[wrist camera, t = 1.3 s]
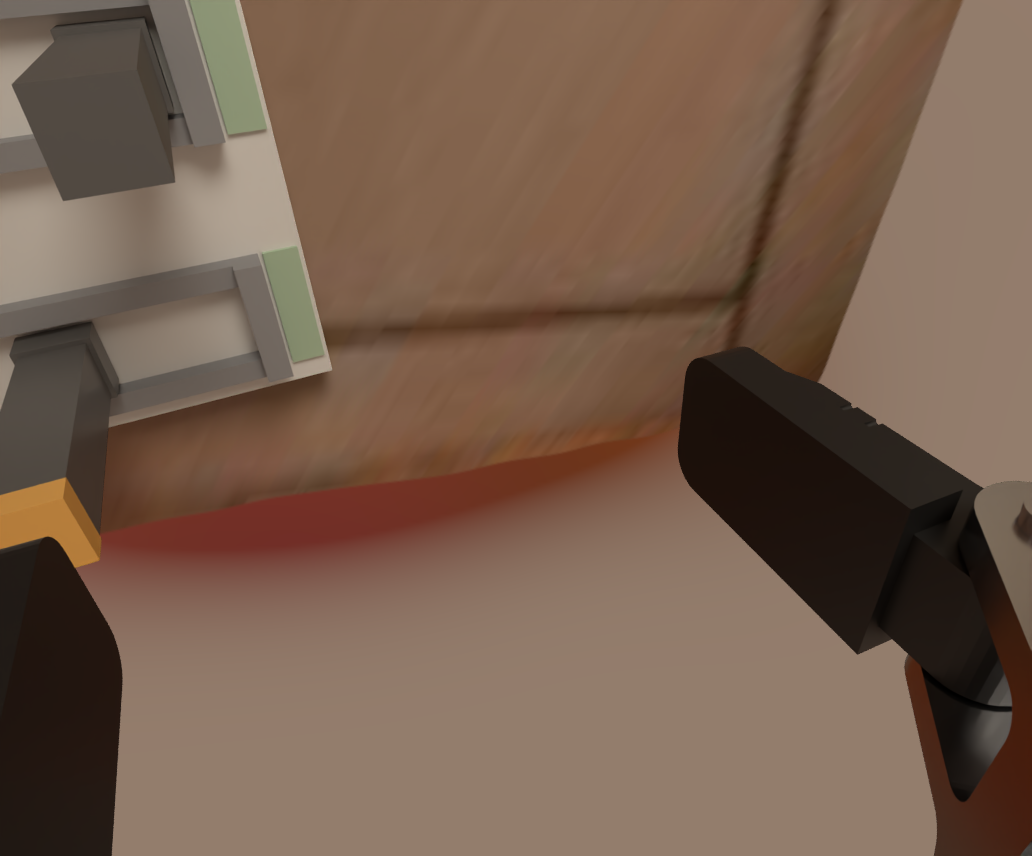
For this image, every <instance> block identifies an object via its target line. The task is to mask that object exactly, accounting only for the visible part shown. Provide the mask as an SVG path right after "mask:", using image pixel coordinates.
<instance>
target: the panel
mask: <svg viewBox="0 0 1032 856" xmlns="http://www.w3.org/2000/svg"><path fill="white" fill-rule="evenodd" d="M91 321H92V322H93V325H94V327H95V329H96V331H97V333H98V335H99V337H100V340H101V342H102V344H103V346H104V348H105V350H106V352H107V355H108V357H109V359H110V361H111V363H112V365H113V367H114V370H115V372H116V374H117V376H118V378H119V387H118V397H116V398H112V399H111V403H110V415H109V427H113V426H117V425H121V424H125V423H129V422H132V421H136V420H140V419H144V418H148V417H152V416H156V415H160V414H164V413H167V412H171V411H175V410H179V409H183V408H187V407H191V406H195V405H199V404H202V403H206V402H210V401H214V400H218V399H222V398H226V397H230V396H234V395H237V394H241V393H245V392H249V391H253V390H257V389H261V388H265V387H269V386H272V385H276V384H280V383H284V382H288V381H292V380H296V379H300V378H304V377H307V376H311V375H315V374H319V373H323V372H327V371H331V370H332V367H331V363H330V359H329V355H328V351H327V347H326V343H325V339H324V335H323V331H322V327H321V323H320V319H319V315H318V311H317V307H316V303H315V299H314V295H313V291H312V287H311V283H310V279H309V275H308V271H307V267H306V263H305V259H304V255H303V251H302V247H301V243H300V239H299V235H298V231H297V227H296V223H295V219H294V215H293V211H292V207H291V203H290V199H289V195H288V191H287V187H286V183H285V179H284V175H283V171H282V167H281V163H280V159H279V155H278V151H277V147H276V143H275V139H274V135H273V131H272V127H271V123H270V119H269V115H268V111H267V107H266V103H265V99H264V95H263V91H262V87H261V83H260V79H259V75H258V71H257V67H256V63H255V59H254V55H253V51H252V47H251V43H250V39H249V35H248V31H247V27H246V24H245V20H244V16H243V12H242V8H241V4H240V0H0V410H1V407H2V404H3V401H4V397H5V394H6V391H7V388H8V385H9V382H10V379H11V376H12V372H13V369H14V366H15V365H14V363H13V362H12V360H11V358H10V356H9V354H10V351H11V348H12V345H13V342H14V339H15V338H17V337H21V336H26V335H31V334H35V333H40V332H44V331H49V330H54V329H58V328H63V327H68V326H72V325H77V324H82V323H86V322H91ZM109 427H108V428H109Z"/></svg>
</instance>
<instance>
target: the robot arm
mask: <svg viewBox="0 0 1032 856" xmlns="http://www.w3.org/2000/svg"><path fill="white" fill-rule="evenodd" d="M678 458H679V463H680V466H681V469H682V472H683V474H684V477H685V479H686V480H687V482H688V484H689V485H690V486H691V488H692V489H693V490H694V491H695V492H696V493H697V494H698V495H699V496H700V497H701V498H702V499H703V500H704V501H705V502H706V503H707V504H708V505H709V506H710V507H711V508H712V509H713V510H714V511H715V512H716V513H717V514H718V515H719V516H720V517H721V518H722V519H723V520H724V521H725V522H726V523H727V524H728V525H729V526H730V527H731V528H732V529H733V530H734V531H735V532H736V533H737V534H738V535H739V536H740V537H741V538H742V539H743V540H744V541H745V542H746V543H747V544H748V545H749V546H750V547H751V548H752V549H753V550H754V551H755V552H756V553H757V554H758V555H759V556H760V557H761V558H762V559H763V560H764V561H765V562H766V563H767V564H768V565H769V566H770V567H771V568H772V569H773V570H774V571H775V572H776V573H777V574H778V575H779V576H780V577H781V578H782V579H783V580H784V581H785V582H786V583H787V584H788V585H789V586H790V587H791V588H792V589H793V590H794V591H795V592H796V593H797V594H798V595H799V596H800V597H801V598H802V599H803V600H804V601H805V602H806V603H807V604H808V605H809V606H810V607H811V608H812V609H813V610H814V611H815V612H816V613H817V614H818V615H819V616H820V617H821V618H822V619H823V620H824V621H825V622H826V623H827V624H828V626H829V627H830V628H832V629H833V631H834V632H835V633H836V634H837V635H838V636H840V638H842V640H843V641H844V642H846V644H847V645H848V646H849V647H850V648H851V649H852V650H853V651H854V652H855V653H856V654H860V653H862V652H864V651H867V650H869V649H871V648H873V647H875V646H878V645H880V644H882V643H884V642H887V641H889V640H891V639H893V640H894V641H895V642H896V643H897V644H898V645H899V646H900V647H901V648H902V649H903V650H904V651H906V652H907V653H908V655H907V657H906V660H905V666H904V668H905V676H906V681H907V685H908V689H909V694H910V698H911V703H912V707H913V712H914V716H915V721H916V725H917V730H918V734H919V739H920V743H921V748H922V752H923V757H924V761H925V765H926V770H927V775H928V779H929V784H930V788H931V793H932V797H933V801H934V806H935V811H936V820H937V840H936V847H935V853H934V856H1032V482H1021V481H1010V482H1001V483H996V484H993V485H990V486H988V487H986V488H982V487H980V486H979V485H977V484H975V483H974V482H972V481H971V480H969V479H968V478H966V477H964V476H963V475H961V474H960V473H958V472H957V471H955V470H953V469H952V468H950V467H949V466H947V465H946V464H944V463H942V462H941V461H940V460H938V459H937V458H935V457H933V456H932V455H930V454H929V453H927V452H926V451H924V450H923V449H921V448H920V447H918V446H916V445H915V444H913V443H912V442H910V441H909V440H907V439H906V438H904V437H903V436H901V435H899V434H898V433H896V432H895V431H893V430H891V429H890V428H888V427H887V426H885V425H884V424H880V425H878V424H877V423H876V419H875V418H873V417H872V416H870V415H868V414H867V413H865V412H864V411H862V410H861V409H859V408H858V407H857V408H852V406H851V403H850V402H848V401H847V400H845V399H844V398H842V397H840V396H839V395H837V394H836V393H834V392H833V391H831V390H830V389H828V388H827V387H825V386H824V385H822V384H820V383H817V382H814V381H811V380H809V379H806V378H803V377H800V376H797V375H795V374H792V373H789V372H786V371H784V370H783V369H781V368H780V367H778V366H777V365H775V364H774V363H772V362H770V361H769V360H767V359H766V358H764V357H763V356H761V355H760V354H758V353H757V352H755V351H754V350H752V349H750V348H748V347H737V348H734V349H730V350H726V351H722V352H719V353H715V354H711V355H708V356H704V357H700V358H697V359H694V360H693V361H692V362H691V363H690V364H689V366H688V368H687V371H686V375H685V384H684V393H683V403H682V412H681V422H680V431H679V442H678ZM121 697H122V667H121V660H120V655H119V651H118V647H117V644H116V641H115V638H114V635H113V633H112V631H111V629H110V627H109V625H108V623H107V622H106V620H105V618H104V616H103V615H102V613H101V611H100V610H99V608H98V606H97V605H96V603H95V601H94V599H93V598H92V596H91V595H90V593H89V591H88V589H87V588H86V586H85V584H84V582H83V581H82V579H81V577H80V576H79V574H78V572H77V571H76V569H75V567H74V565H73V564H72V562H71V560H70V559H69V557H68V555H67V554H66V552H65V550H64V549H63V547H62V546H61V545H60V543H59V542H58V541H57V540H55V539H54V538H52V537H49V536H47V537H43V538H40V539H36V540H32V541H29V542H25V543H21V544H18V545H14V546H10V547H7V548H3V549H0V856H112V841H113V825H114V809H115V793H116V776H117V761H118V745H119V729H120V712H121Z"/></svg>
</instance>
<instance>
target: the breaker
mask: <svg viewBox="0 0 1032 856" xmlns="http://www.w3.org/2000/svg"><path fill="white" fill-rule="evenodd" d="M9 356H10V358H11V360H12V362H13V363H14V365H15V366H14V369H13V372H12V376H11V379H10V382H9V385H8V388H7V391H6V394H5V397H4V401H3V404H2V407H1V410H0V549H3V548H7V547H10V546H14V545H18V544H21V543H25V542H29V541H32V540H36V539H40V538H43V537H47V536H49V537H52V538H54V539H55V540H57V541H58V542H59V543H60V545H61V546H62V547H63V549H64V550H65V552H66V554H67V555H68V557H69V559H70V560H71V562H72V564H73V565H74V567H75V568H76V567H80V566H83V565H86V564H90V563H93V562H96V561H99V560H100V552H101V537H100V524H101V512H102V499H103V487H104V475H105V463H106V451H107V439H108V427H109V415H110V403H111V399H112V398H116V397H118V387H119V378H118V376H117V374H116V372H115V370H114V367H113V365H112V363H111V361H110V359H109V357H108V355H107V352H106V350H105V348H104V346H103V344H102V342H101V340H100V337H99V335H98V333H97V331H96V329H95V327H94V325H93V322H92V321H91V322H86V323H82V324H77V325H72V326H68V327H63V328H58V329H54V330H49V331H44V332H40V333H35V334H31V335H26V336H21V337H17V338H15V339H14V342H13V345H12V348H11V351H10V354H9Z"/></svg>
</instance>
